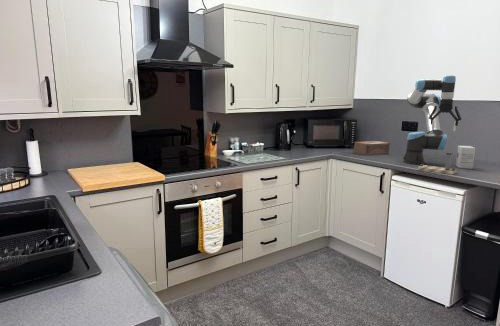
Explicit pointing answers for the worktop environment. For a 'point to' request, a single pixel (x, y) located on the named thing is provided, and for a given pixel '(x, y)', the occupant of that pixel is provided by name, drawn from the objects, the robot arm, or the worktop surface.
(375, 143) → the tissue box cover
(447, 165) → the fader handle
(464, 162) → the supplement box
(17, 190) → the worktop surface
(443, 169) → the tan flat oblong piece
